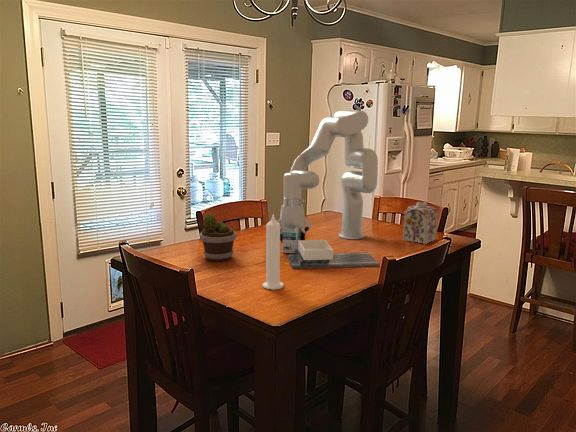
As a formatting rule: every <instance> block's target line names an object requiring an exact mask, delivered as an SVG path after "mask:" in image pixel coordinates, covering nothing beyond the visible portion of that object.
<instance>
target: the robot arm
mask: <svg viewBox="0 0 576 432" xmlns="http://www.w3.org/2000/svg"><path fill="white" fill-rule="evenodd" d="M368 124H369V116H368V114H367V112H365V111H364V110H361V109H360V110H359V109H356V110H355V109H353V110H351V109H343V110H337V111H336V112H334V114H333V116H327V117H324V118H323V119H322V120H321V121H320V123H319V125H318V127H317V130H316V131H315V135H314V136H313V139H312V141H311V143H310V145H309V146H308V147H307V148H306V149H305V150H304V151H302V153H300V154H299V155H298V156H297V158H295V160H294V161H293V165H292V166H291V169H290V171H289V172H285V173H284V174H283V204H281V207H280V217H279V219H277V220H276V221H277V222H278V223H279V224H280V243H281V244H283V227H299V229H301V230H302V232H301V240H306V233H307V232H308V231H309V230H310V228H311V227H312V225H313V223H312V222H311V221H309V220H308V219H307V218H305V209H304V205H303V203H305V202H306V201H305V200H306V199H305V198H302V190H313V189H315V188H317V187H318V186H319V184H320V177H319V175H318V173H316V172H314V171H311V170H307V168H308V167H309V166H310V165H311V164H312V163H314V162H315V161H319V160H320V159H322V158H325V157H327V156H328V154H329V152H330V150H331V148H332V145H333V143H334V141H335V138H344V164H345V165H346V167H348V168H352V169H358V170H347V171H346V172H344V173H343V174H342V176H341V179H340V180H341V181H340V183H341V189H342V191H341V192H342V210H341V211H342V215H341V218H342V219H341V231H339V232H338V237H339V238H342V239H345V240H346V239H347V240H361V239H364V238H365V237H366V235H365V233H363V232H362V231H363V209H364V208H363V207H364V200H363V199H364V198H363V195H362V194H372V193H373V192H375V190H376V189H377V186H378V173H379V172H378V171H379V170H378V169H379V168H378V167H379V166H378V165H379V162H378V161H379V160H378V159H379V158H378V155H377V153H376V151H375V150H373V149H371V148H367V147H366V148H364V136H363V133H362V131H363V130H364V129H365V128H366V127H367V126H368ZM360 170H361V171H360ZM305 224H307V225H306V226H305Z"/></svg>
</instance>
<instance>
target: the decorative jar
mask: <svg viewBox="0 0 576 432" xmlns="http://www.w3.org/2000/svg"><path fill="white" fill-rule="evenodd" d="M403 218H404V219H403V228H402V229H403V231H402V232H403V233H402V240H403V242H409V241H411V242H410V243H414V242H418V243H417V244H420V243H423V244H422V245H425V244H426V245H427V243H428V244H429V242H430V243H432V242H434V241H436V239H437V237H436V236H437V226H438V211H437V210H436V209H435V208H434V206H431V205H428V203H427V202H424V201H417V202H416V204H415V205H410V206H408V207H407V209H406V210H405V211H404V217H403ZM431 241H432V242H431Z"/></svg>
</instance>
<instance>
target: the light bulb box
mask: <svg viewBox="0 0 576 432" xmlns="http://www.w3.org/2000/svg"><path fill="white" fill-rule="evenodd" d="M301 232H302V230H301V229H299V227H283V243H282V254H283V253H284V254H286V253H287V254H295V250H297V251H298V252H299V250H298V240H301ZM299 253H300V252H299Z"/></svg>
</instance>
